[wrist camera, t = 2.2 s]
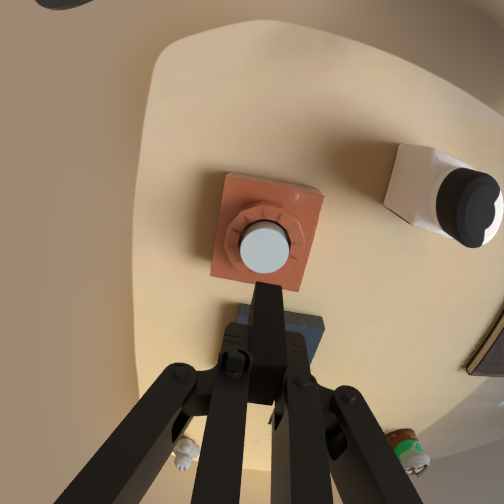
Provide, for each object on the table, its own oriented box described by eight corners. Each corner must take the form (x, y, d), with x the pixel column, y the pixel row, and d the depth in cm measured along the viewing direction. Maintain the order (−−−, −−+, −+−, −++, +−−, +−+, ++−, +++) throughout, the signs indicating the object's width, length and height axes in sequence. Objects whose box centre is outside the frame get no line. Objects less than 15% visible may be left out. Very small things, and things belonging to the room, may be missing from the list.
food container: (428, 429, 45) (441, 463, 36) (408, 443, 47) (418, 477, 38) (398, 421, 43) (411, 461, 34) (375, 437, 45) (385, 477, 36)
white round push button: (246, 217, 25) (244, 223, 23) (291, 226, 25) (293, 233, 23) (238, 259, 26) (236, 268, 25) (281, 267, 27) (282, 277, 25)
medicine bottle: (381, 205, 28) (438, 247, 17) (398, 142, 26) (467, 152, 15) (431, 222, 29) (494, 265, 18) (448, 164, 26) (520, 185, 15)
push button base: (240, 303, 34) (236, 323, 30) (322, 316, 34) (327, 337, 30) (227, 367, 38) (223, 388, 34) (297, 378, 38) (299, 399, 34)
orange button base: (229, 171, 28) (222, 178, 23) (318, 189, 28) (328, 200, 24) (215, 262, 32) (206, 284, 27) (295, 277, 32) (300, 301, 27)
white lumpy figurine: (172, 442, 48) (164, 473, 40) (176, 428, 45) (166, 462, 38) (198, 449, 48) (192, 481, 41) (204, 435, 46) (197, 470, 38)
